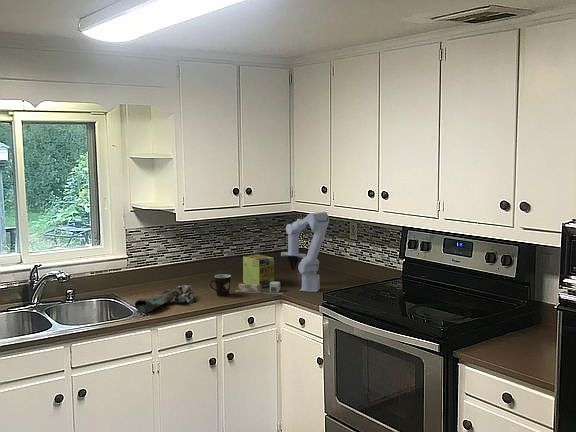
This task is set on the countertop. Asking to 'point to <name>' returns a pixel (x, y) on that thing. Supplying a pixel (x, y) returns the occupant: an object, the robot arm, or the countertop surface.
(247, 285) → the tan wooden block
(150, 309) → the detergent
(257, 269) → the protein box
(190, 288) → the foil
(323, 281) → the countertop surface
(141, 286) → the countertop surface
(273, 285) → the marked cube
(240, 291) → the rail
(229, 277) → the coffee mug
